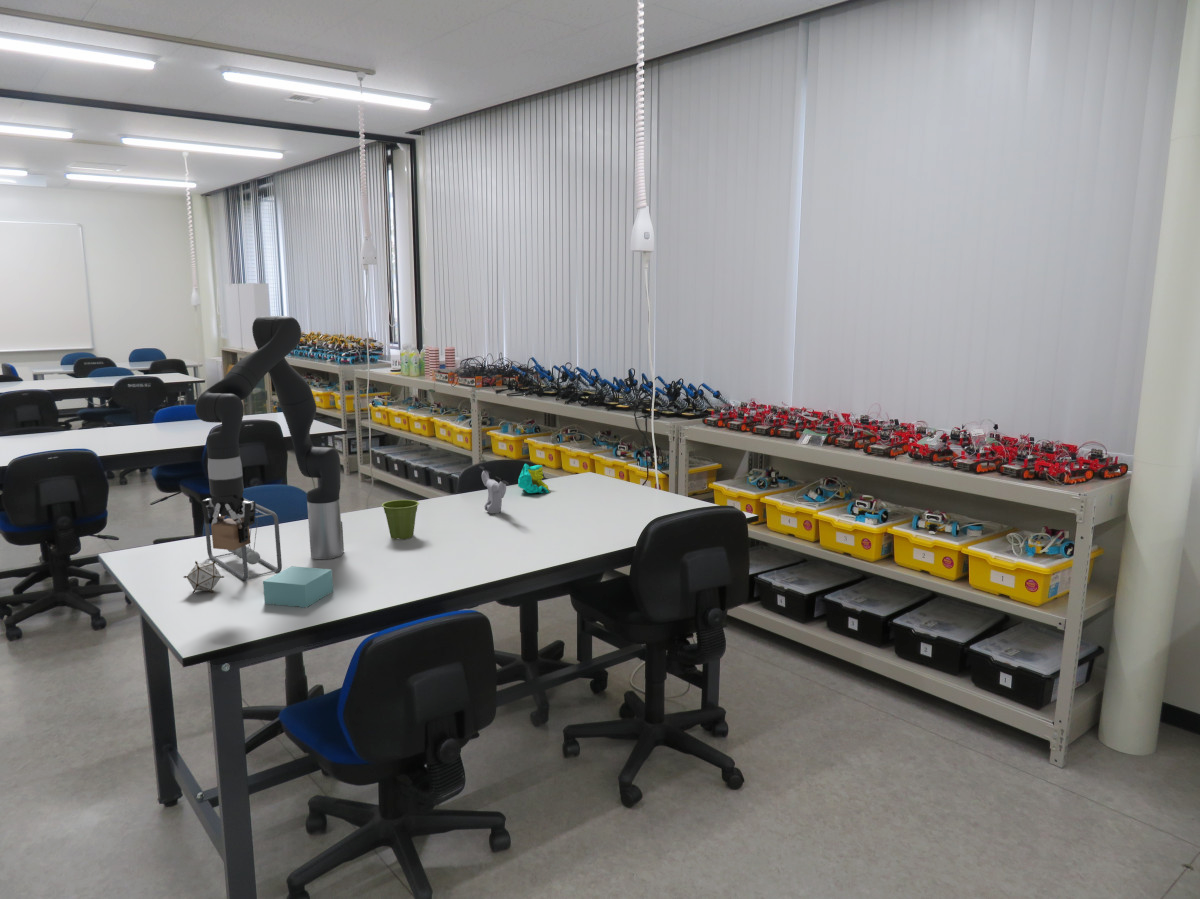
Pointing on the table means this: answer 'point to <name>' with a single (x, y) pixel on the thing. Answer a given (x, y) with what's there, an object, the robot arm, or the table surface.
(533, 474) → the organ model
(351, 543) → the table surface
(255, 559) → the newton's cradle
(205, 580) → the game die
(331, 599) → the table surface
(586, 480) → the table surface
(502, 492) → the figurine
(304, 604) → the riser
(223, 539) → the walnut cube
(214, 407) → the robot arm
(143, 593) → the table surface
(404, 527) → the plant pot
